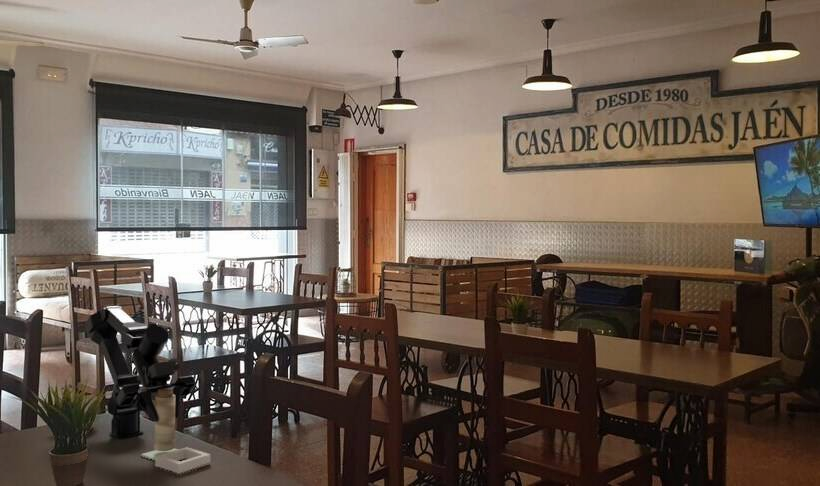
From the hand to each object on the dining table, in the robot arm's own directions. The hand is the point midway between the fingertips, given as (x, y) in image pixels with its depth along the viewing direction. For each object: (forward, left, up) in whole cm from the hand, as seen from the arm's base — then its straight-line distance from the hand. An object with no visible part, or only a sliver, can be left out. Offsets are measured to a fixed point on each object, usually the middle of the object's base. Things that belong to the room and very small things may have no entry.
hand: (167, 419), depth 180 cm
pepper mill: (0, -1, -8) cm, 8 cm away
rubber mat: (0, -1, -9) cm, 10 cm away
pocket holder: (+1, +8, -9) cm, 13 cm away
